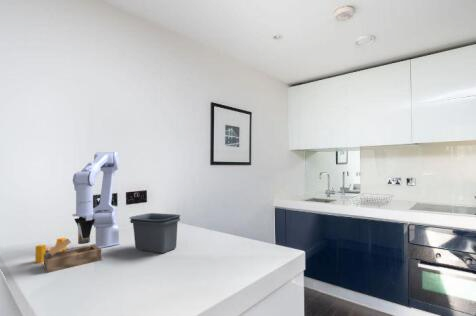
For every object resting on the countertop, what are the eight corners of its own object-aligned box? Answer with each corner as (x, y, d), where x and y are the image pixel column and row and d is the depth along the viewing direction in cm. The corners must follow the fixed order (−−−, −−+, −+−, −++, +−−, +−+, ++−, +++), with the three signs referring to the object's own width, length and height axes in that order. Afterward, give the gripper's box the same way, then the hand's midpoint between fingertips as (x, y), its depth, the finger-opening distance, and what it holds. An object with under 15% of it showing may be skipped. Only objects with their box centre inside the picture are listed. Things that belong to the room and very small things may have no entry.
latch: (48, 258, 93) (45, 255, 92) (46, 256, 96) (44, 253, 95) (71, 242, 98) (69, 240, 97) (69, 240, 101) (67, 238, 100)
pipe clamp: (56, 253, 113) (56, 237, 113) (66, 253, 112) (65, 237, 113) (31, 263, 101) (31, 246, 101) (41, 263, 100) (41, 246, 101)
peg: (88, 240, 105) (88, 220, 106) (90, 242, 102) (90, 221, 102) (77, 242, 103) (77, 222, 103) (79, 244, 100) (78, 223, 100)
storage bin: (125, 250, 113) (125, 217, 114) (153, 241, 127) (152, 211, 127) (162, 257, 103) (161, 220, 104) (187, 246, 117) (187, 213, 117)
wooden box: (94, 254, 109) (94, 240, 109) (101, 259, 102) (101, 245, 102) (43, 265, 97) (43, 250, 98) (47, 272, 90) (47, 256, 90)
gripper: (68, 201, 106) (69, 235, 105) (76, 204, 95) (77, 242, 95) (88, 199, 111) (88, 232, 110) (98, 202, 100) (98, 238, 99)
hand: (84, 236), depth 103 cm, fingers closed on peg, 4 cm apart
